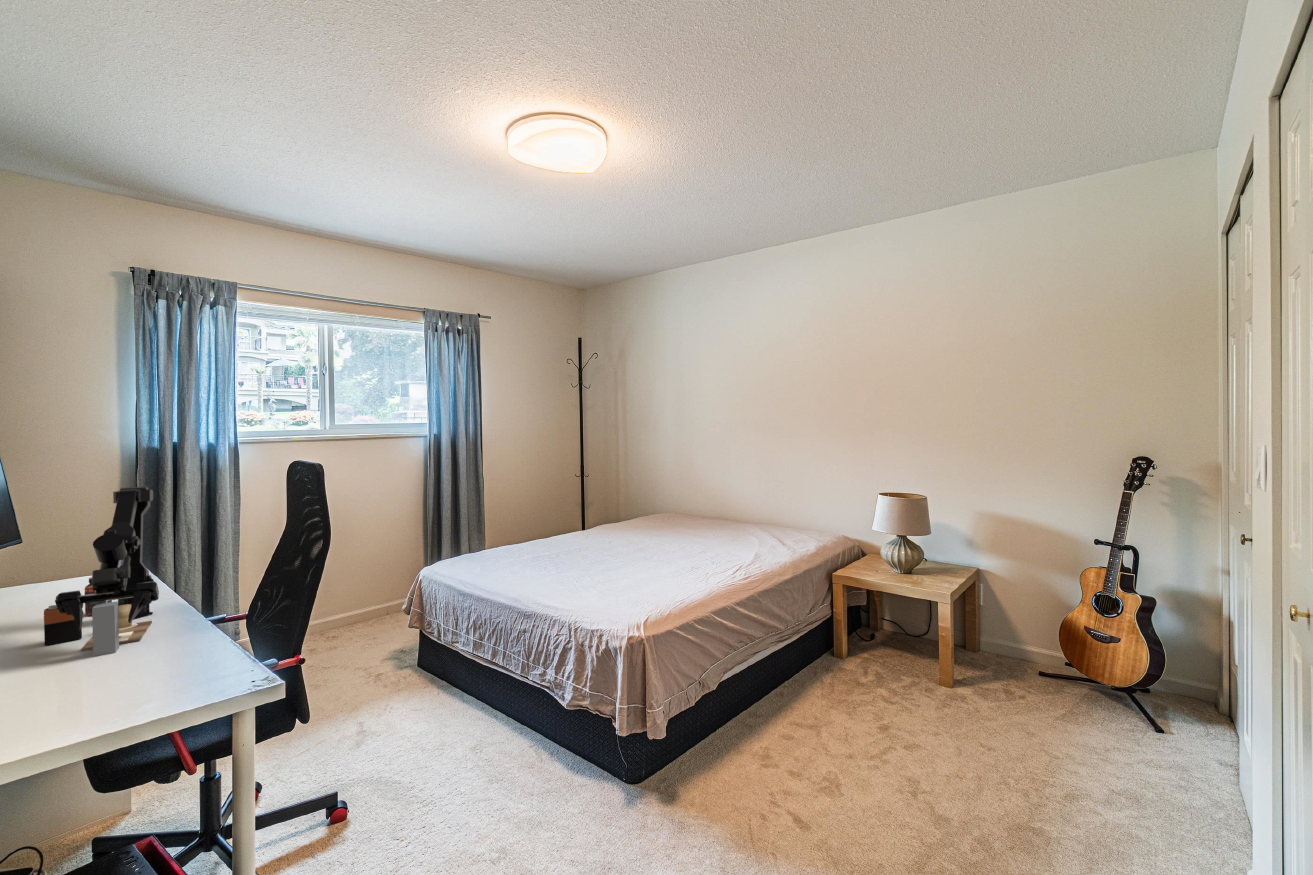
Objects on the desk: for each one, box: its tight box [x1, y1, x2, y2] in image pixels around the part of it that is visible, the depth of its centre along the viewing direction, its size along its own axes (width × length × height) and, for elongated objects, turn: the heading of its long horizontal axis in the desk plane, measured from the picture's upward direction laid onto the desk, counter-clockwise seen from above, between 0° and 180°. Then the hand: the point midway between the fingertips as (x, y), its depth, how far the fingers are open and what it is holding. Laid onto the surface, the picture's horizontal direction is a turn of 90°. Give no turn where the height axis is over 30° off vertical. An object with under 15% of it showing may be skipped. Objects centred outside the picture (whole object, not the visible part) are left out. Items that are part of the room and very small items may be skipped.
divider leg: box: [91, 600, 120, 657], centre depth 141 cm, size 4×4×12 cm
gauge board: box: [80, 604, 153, 652], centre depth 153 cm, size 18×11×7 cm, turn 34°
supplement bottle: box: [84, 576, 113, 617], centre depth 174 cm, size 6×6×11 cm
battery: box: [43, 604, 83, 647], centre depth 150 cm, size 4×7×10 cm, turn 137°
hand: (104, 625), depth 141 cm, fingers open, 9 cm apart
